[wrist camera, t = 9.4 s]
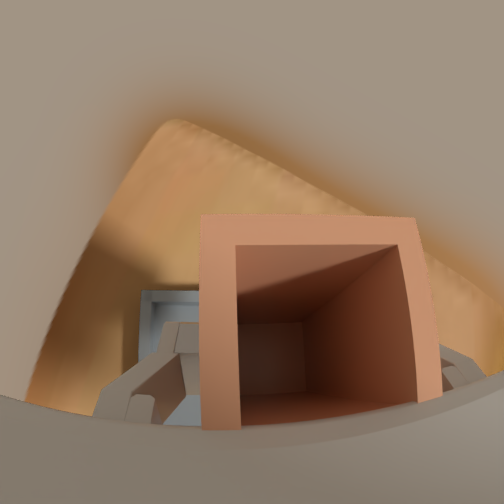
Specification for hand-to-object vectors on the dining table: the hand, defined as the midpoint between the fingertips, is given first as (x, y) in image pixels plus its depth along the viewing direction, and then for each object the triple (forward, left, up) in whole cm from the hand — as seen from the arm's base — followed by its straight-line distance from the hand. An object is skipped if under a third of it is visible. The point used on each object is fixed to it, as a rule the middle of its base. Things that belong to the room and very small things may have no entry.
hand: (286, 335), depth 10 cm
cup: (-1, 0, -6) cm, 6 cm away
